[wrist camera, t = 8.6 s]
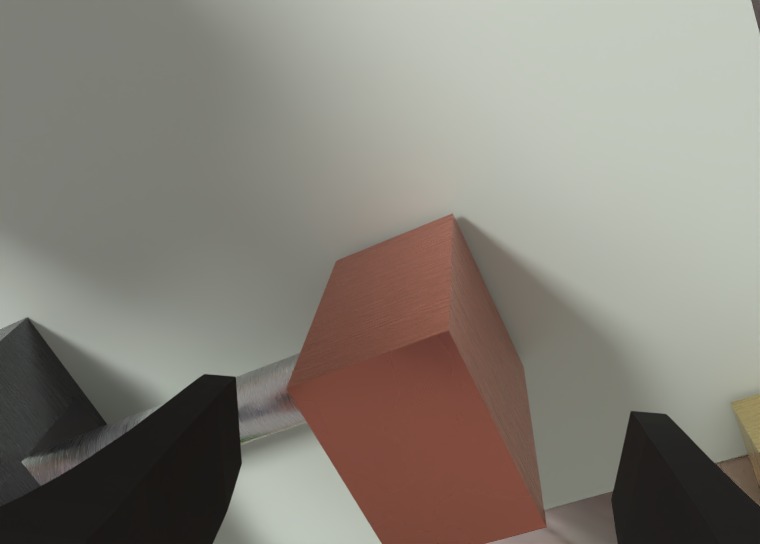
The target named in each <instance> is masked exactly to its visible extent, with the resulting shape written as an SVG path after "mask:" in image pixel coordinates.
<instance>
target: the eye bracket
mask: <svg viewBox="0 0 760 544" xmlns="http://www.w3.org/2000/svg"><path fill="white" fill-rule="evenodd" d="M105 425H107V423H106V422H105V421H104V419H103V418H102V416H101V415H100V414H99V412H98V411H97V410H96V408H95V407H94V406H93V404H92V403H91V402H90V400H89V399H88V398H87V396H86V395H85V394H84V392H83V391H82V390H81V388H80V387H79V386H78V384H77V383H76V382H75V380H74V379H73V378H72V376H71V375H70V374H69V372H68V371H67V369H66V368H65V367H64V365H63V364H62V363H61V361H60V360H59V359H58V357H57V356H56V355H55V353H54V352H53V351H52V349H51V348H50V347H49V345H48V344H47V343H46V341H45V340H44V339H43V337H42V336H41V335H40V333H39V332H38V331H37V329H36V328H35V327H34V325H33V324H32V322H31V321H30V320H29V318H28V317H27V318H24V319H22V320H20V321H17V322H15V323H13V324H11V325H8V326H6V327H4V328H2V329H0V506H2V505H5V504H7V503H9V502H11V501H13V500H15V499H17V498H19V497H21V496H23V495H25V494H27V493H29V492H31V491H33V490H34V489H36V488H38V487H40V486H41V485H40V484H39V483H38V482H37V481H36V479H35V478H34V477H33V476H32V474H31V473H30V472H29V471H28V470H27V468H26V467H25V466H24V465H23V464H22V461H23V460H24V459H25V457H26V456H27V455H28V454H30V453H33V452H36V451H39V450H41V449H44V448H47V447H49V446H52V445H55V444H57V443H60V442H63V441H65V440H68V439H71V438H73V437H76V436H79V435H81V434H84V433H87V432H89V431H92V430H95V429H97V428H100V427H103V426H105Z"/></svg>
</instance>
